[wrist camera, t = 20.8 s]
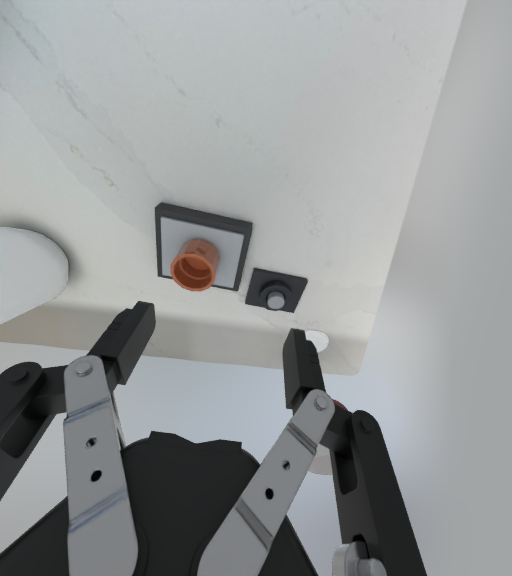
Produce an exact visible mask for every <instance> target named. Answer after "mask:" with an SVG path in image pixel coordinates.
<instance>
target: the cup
mask: <svg viewBox="0 0 512 576" xmlns="http://www.w3.org/2000/svg"><path fill="white" fill-rule="evenodd" d="M67 284H68V259H67V257H66V256H65V254H64V252H63V250H62V249H61V248H60V247H59V246H58V245H57V244H56V243H55V242H53V241H52V240H50V239H49V238H47V237H45V236H44V235H42V234H40V233H37V232H34V231H31V230H25V229H18V228H11V227H0V324H2V323H4V322H6V321H8V320H10V319H12V318H15V317H17V316H19V315H21V314H23V313H25V312H27V311H29V310H31V309H33V308H35V307H37V306H39V305H42V304H44V303H46V302H48V301H50V300H52V299H54V298H56V297H58V296H59V295H60V294H61V293H62V291H63V290H64V288H65V287H66V285H67Z"/></svg>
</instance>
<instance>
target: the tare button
mask: <svg viewBox="0 0 512 576" xmlns="http://www.w3.org/2000/svg"><path fill="white" fill-rule="evenodd" d="M267 299H268V306H269V307H270V308H272V309H279V308H281V307H283V305H284V296H283V294H282V293H281V292H278V291H273V292H271V293H270V294H269V295H268V297H267Z"/></svg>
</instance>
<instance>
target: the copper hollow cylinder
mask: <svg viewBox="0 0 512 576" xmlns="http://www.w3.org/2000/svg"><path fill="white" fill-rule="evenodd" d="M219 263H220V256H219V253H218V251H217V249H216V248H215V247H214V246H213V245H212V244H210V243H208V242H206V241H204V240H198V239H192V240H190V241H188V242H186V243H184V244H183V246H182V247H181V249H180V250H179V252H178V253H177V255H176V257H175V258H174V260H173V261H172V263H171V265H170V273H171V276H172V277H173V279H174V281H175V282H176V283H177V284H178V285H180V286H181V287H182V288H185V289H187V290H190V291H203V290H205V289H208V288H210V287H211V285H212V284H213V283H214V282H215V278H216V275H217V271H218V268H219Z"/></svg>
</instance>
